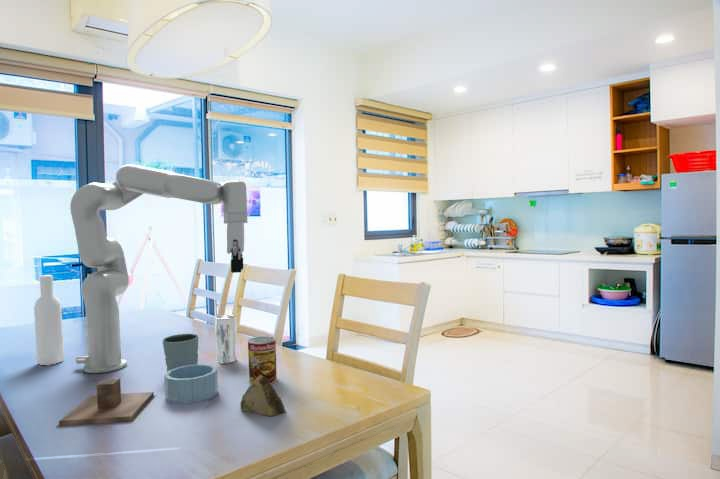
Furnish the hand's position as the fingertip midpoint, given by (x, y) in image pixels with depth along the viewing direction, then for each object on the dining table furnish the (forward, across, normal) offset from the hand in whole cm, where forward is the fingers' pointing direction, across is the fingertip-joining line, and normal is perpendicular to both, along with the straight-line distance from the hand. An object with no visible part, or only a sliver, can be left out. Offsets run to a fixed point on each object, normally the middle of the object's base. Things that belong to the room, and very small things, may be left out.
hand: (237, 270), depth 158 cm
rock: (+31, +44, +8) cm, 54 cm away
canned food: (+31, +21, +8) cm, 38 cm away
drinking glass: (+31, +11, -17) cm, 37 cm away
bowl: (+30, +28, -11) cm, 43 cm away
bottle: (+31, -17, -65) cm, 73 cm away
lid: (+30, +35, -30) cm, 55 cm away
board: (+30, +35, -30) cm, 55 cm away
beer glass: (+31, -2, -5) cm, 31 cm away
